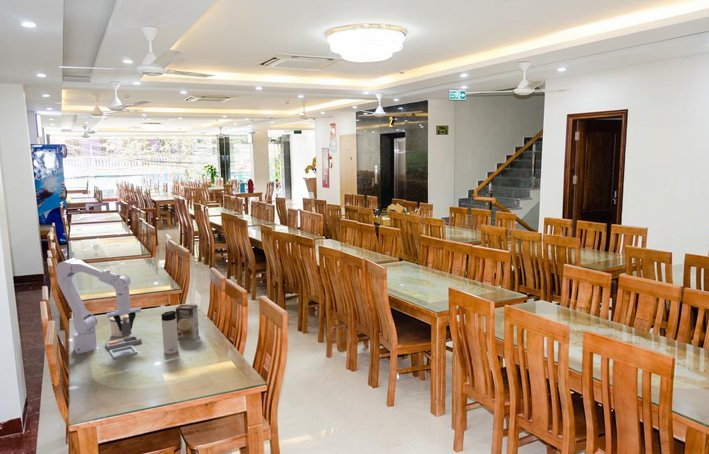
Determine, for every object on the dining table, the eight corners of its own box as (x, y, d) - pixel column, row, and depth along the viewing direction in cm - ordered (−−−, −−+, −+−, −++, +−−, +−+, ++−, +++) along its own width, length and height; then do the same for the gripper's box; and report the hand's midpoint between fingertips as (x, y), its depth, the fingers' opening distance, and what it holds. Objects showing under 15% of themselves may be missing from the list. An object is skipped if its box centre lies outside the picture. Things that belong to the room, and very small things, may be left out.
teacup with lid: (132, 334, 258) (130, 312, 257) (112, 338, 253) (110, 316, 251) (127, 328, 268) (125, 307, 266) (108, 332, 263) (106, 310, 261)
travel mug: (174, 356, 229) (171, 314, 226) (161, 355, 231) (158, 313, 228) (181, 351, 235) (178, 309, 233) (169, 350, 237) (166, 309, 234)
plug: (122, 335, 236) (120, 319, 234) (120, 333, 239) (119, 317, 238) (131, 334, 238) (130, 317, 237) (129, 331, 241) (128, 315, 240)
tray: (114, 360, 226) (113, 357, 226) (109, 353, 234) (109, 350, 234) (137, 354, 232) (137, 351, 232) (132, 348, 240) (132, 345, 240)
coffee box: (176, 339, 251) (174, 308, 248) (182, 334, 257) (180, 304, 255) (194, 339, 250) (192, 308, 247) (199, 335, 256) (197, 304, 254)
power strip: (108, 351, 236) (107, 345, 236) (105, 347, 242) (104, 340, 242) (141, 344, 245) (141, 338, 245) (138, 339, 251) (137, 334, 250)
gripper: (107, 306, 229) (110, 335, 231) (141, 300, 237) (143, 328, 239) (105, 302, 234) (107, 330, 236) (138, 297, 243) (140, 324, 245)
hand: (125, 329), depth 238 cm, fingers closed on plug, 4 cm apart
